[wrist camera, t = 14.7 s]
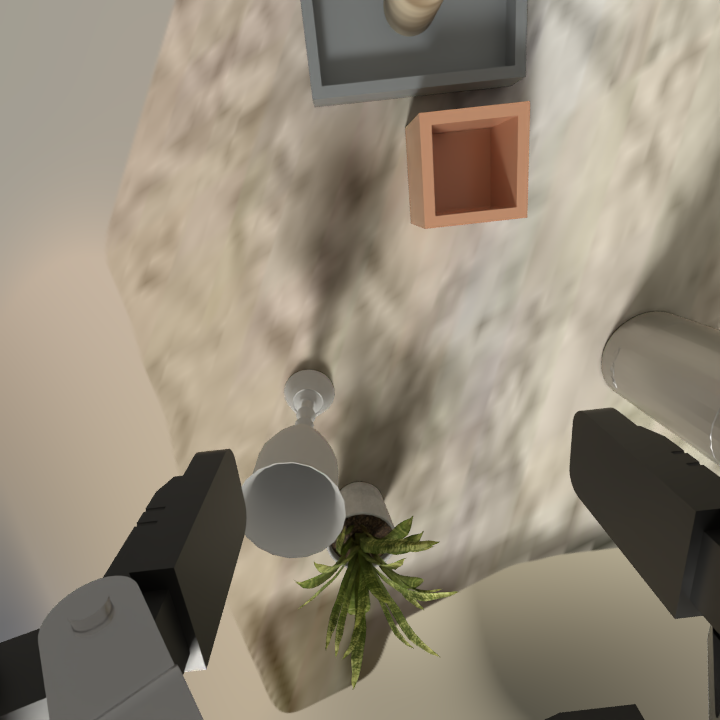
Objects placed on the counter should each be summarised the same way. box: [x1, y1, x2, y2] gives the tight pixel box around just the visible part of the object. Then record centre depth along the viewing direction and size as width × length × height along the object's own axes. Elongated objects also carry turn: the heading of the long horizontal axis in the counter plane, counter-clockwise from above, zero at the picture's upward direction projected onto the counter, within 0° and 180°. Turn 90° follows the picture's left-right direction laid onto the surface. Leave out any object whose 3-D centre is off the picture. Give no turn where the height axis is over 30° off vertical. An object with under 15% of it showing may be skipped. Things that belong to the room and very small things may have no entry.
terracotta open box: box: [405, 101, 530, 229], centre depth 35 cm, size 8×8×7 cm
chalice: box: [242, 369, 346, 558], centre depth 36 cm, size 7×7×18 cm
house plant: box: [295, 482, 457, 688], centre depth 42 cm, size 14×14×16 cm
